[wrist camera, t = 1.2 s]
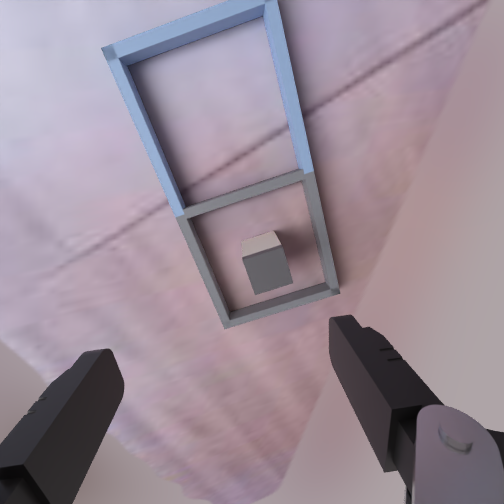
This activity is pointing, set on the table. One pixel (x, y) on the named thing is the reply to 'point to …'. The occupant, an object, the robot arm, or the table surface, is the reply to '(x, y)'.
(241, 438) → the table surface
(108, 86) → the table surface
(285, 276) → the grey rectangular block
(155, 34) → the two-cell open frame
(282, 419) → the table surface
